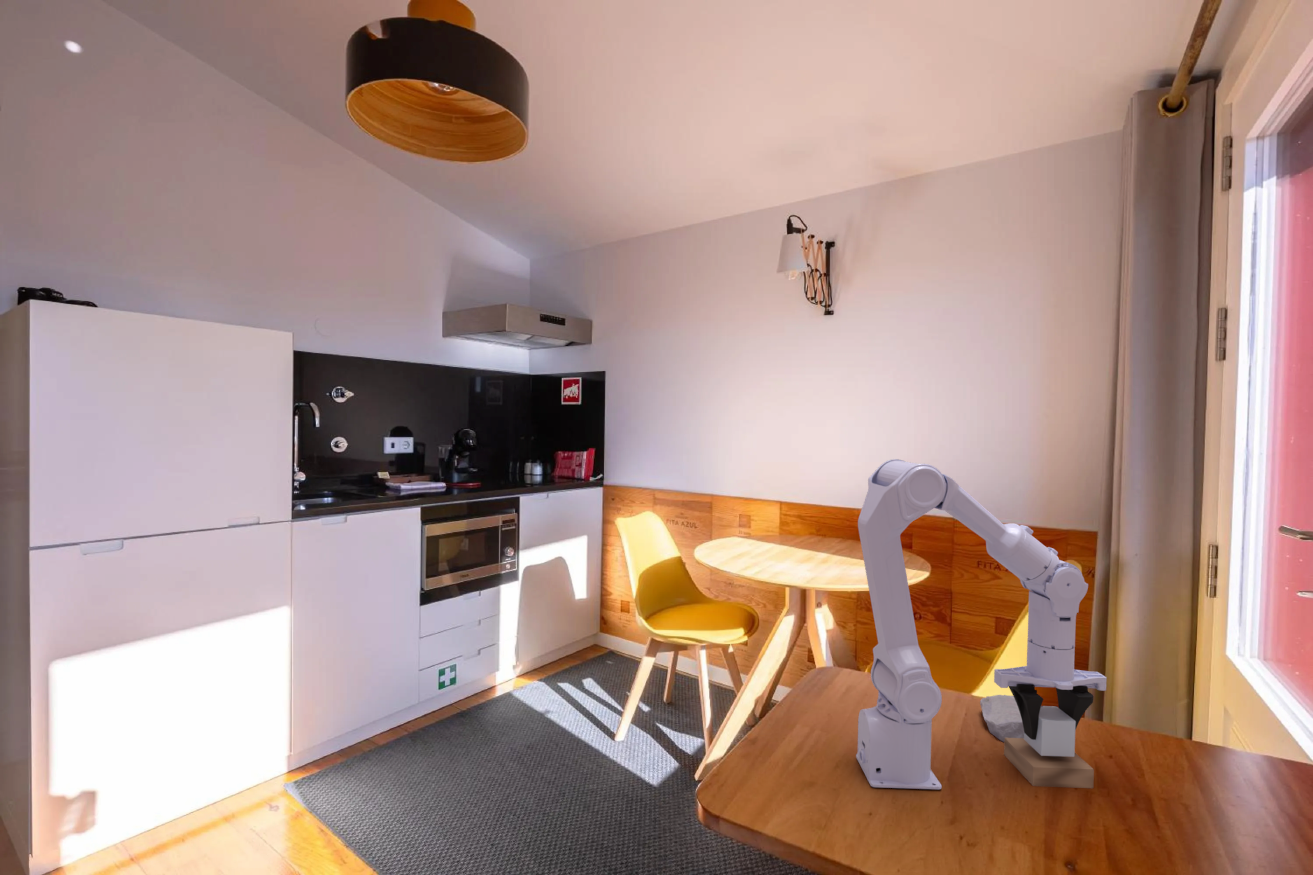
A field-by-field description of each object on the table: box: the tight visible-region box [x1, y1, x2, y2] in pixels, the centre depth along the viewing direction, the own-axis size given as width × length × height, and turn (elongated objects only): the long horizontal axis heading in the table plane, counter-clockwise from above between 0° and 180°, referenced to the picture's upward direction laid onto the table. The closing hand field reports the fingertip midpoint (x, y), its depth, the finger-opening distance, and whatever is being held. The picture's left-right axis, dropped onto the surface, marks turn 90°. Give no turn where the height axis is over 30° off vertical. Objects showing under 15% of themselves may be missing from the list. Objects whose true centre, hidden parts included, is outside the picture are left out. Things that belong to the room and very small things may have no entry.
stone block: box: [979, 694, 1024, 743], centre depth 103 cm, size 12×5×10 cm
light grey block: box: [1024, 705, 1076, 757], centre depth 90 cm, size 4×4×5 cm
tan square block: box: [1003, 738, 1095, 789], centre depth 91 cm, size 8×8×3 cm
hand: (1047, 736), depth 91 cm, fingers closed on light grey block, 4 cm apart
